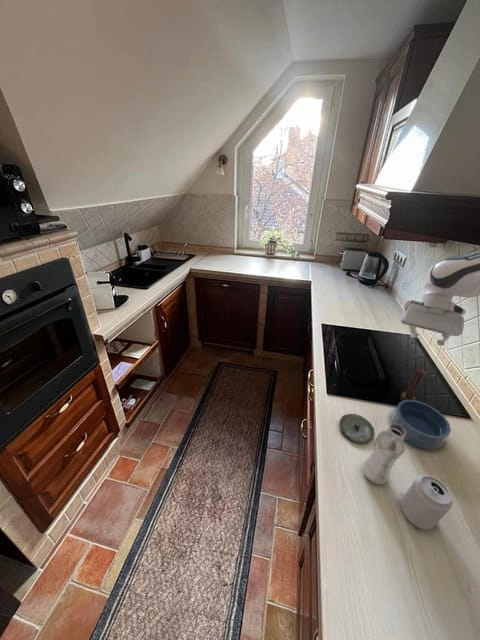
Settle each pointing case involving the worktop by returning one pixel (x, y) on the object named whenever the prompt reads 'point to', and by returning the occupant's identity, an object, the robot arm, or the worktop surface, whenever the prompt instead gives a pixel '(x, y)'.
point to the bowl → (421, 424)
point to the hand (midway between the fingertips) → (427, 341)
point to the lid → (356, 428)
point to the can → (426, 502)
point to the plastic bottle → (385, 454)
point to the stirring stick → (413, 386)
